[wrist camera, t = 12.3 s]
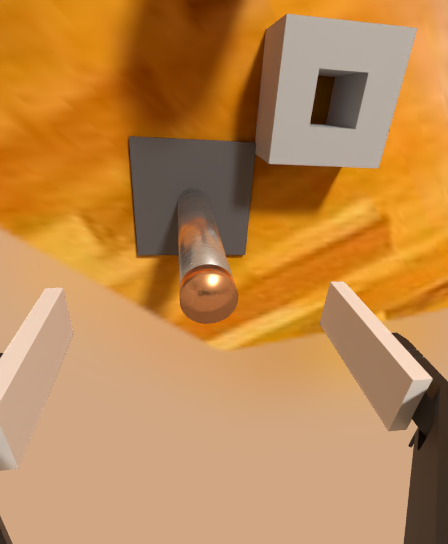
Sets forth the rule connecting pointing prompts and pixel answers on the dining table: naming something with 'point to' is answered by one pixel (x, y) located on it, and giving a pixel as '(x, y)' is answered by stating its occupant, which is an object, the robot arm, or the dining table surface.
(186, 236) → the peg
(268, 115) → the eye block
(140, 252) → the mat
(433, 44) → the dining table surface
